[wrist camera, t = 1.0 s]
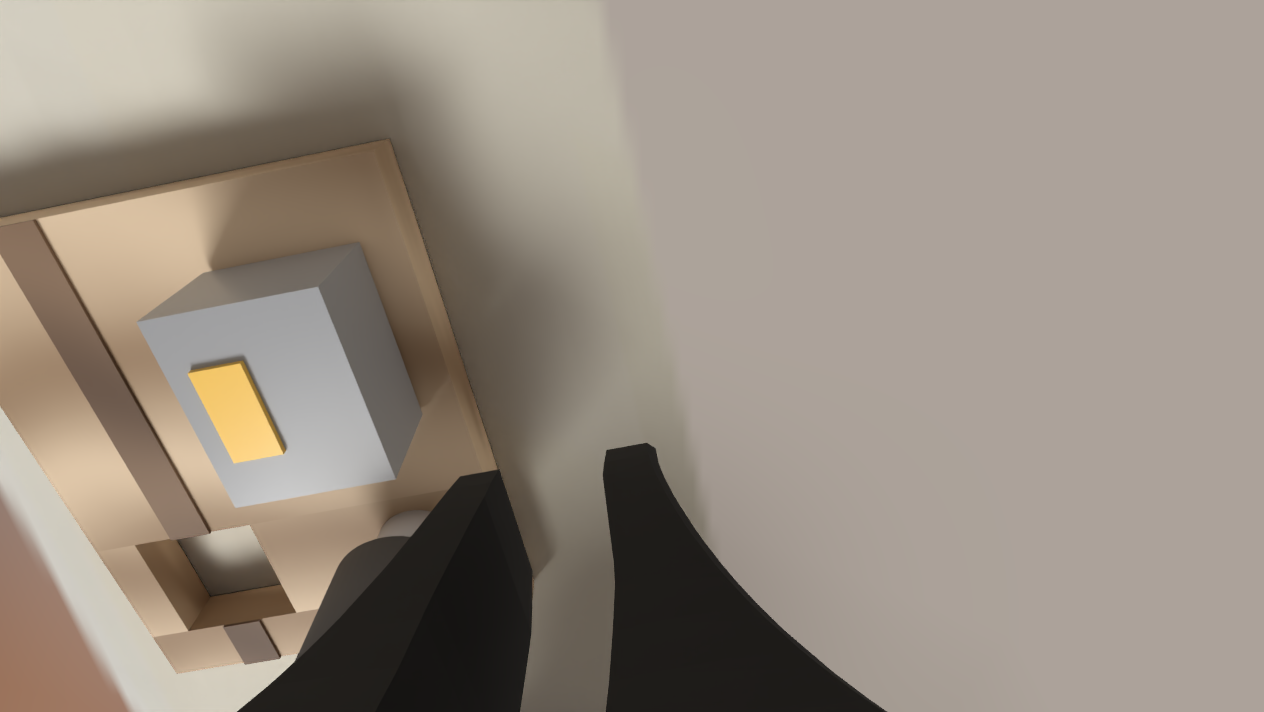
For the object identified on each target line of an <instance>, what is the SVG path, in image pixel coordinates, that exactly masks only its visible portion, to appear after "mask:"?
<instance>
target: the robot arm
mask: <svg viewBox="0 0 1264 712" xmlns="http://www.w3.org/2000/svg"><path fill="white" fill-rule="evenodd" d="M603 480H604V488H605V496H606V504H607V512H608V520H609V528H610V535H611V543H612V551H613V558H614V572H615V598H614V620H613V638H612V651H611V665H610V678H609V688H608V697H607V706H606V712H887V711H885V710H884V709H882V708H881V707H879V706H878V705H877V704H875V703H874V702H872V701H871V700H869V699H868V698H867V697H865V696H864V695H863V694H861V693H860V692H859V691H857V690H856V689H855V688H853V687H852V686H851V685H849V684H848V683H847V682H845V681H844V680H843V679H841V678H840V677H839V676H837V675H836V674H835V673H834V672H832V671H831V670H830V669H829V668H827V667H826V666H825V665H824V664H823V663H822V662H821V661H819V660H818V659H817V658H816V657H815V656H814V655H812V654H811V653H810V652H809V651H808V650H806V649H805V648H804V647H803V646H802V645H801V644H800V643H798V642H797V641H796V640H795V639H794V638H793V637H791V636H790V635H789V634H788V633H787V632H786V631H784V630H783V629H782V628H781V627H780V626H779V625H778V624H777V623H776V622H775V621H774V620H773V619H772V618H771V617H770V616H769V615H768V614H767V613H766V612H765V611H764V610H763V609H762V608H761V607H760V606H759V605H758V604H757V603H756V602H755V601H754V600H753V599H752V598H751V597H750V596H749V595H748V594H747V593H746V591H745V590H744V589H743V588H742V587H741V586H740V585H739V584H738V583H737V582H736V581H735V580H734V578H733V577H732V576H731V575H730V574H729V572H728V571H727V570H726V569H725V568H724V566H723V565H722V564H721V563H720V562H719V560H718V559H717V558H716V556H715V555H714V554H713V553H712V551H711V550H710V549H709V547H708V546H707V545H706V544H705V542H704V541H703V539H702V538H701V537H700V535H699V534H698V532H697V531H696V530H695V528H694V527H693V525H692V524H691V522H690V521H689V519H688V517H687V516H686V514H685V513H684V511H683V510H682V508H681V507H680V505H679V504H678V502H677V500H676V498H675V497H674V495H673V493H672V491H671V489H670V488H669V486H668V484H667V482H666V480H665V478H664V475H663V473H662V471H661V469H660V466H659V463H658V459H657V454H656V449H655V448H654V447H652V446H651V445H649V444H648V443H644V444H638V445H632V446H627V447H621V448H616V449H610V450H607V451H606V456H605V462H604V471H603ZM531 624H532V569H531V566H530V563H529V560H528V557H527V553H526V550H525V547H524V544H523V541H522V538H521V535H520V532H519V529H518V526H517V523H516V520H515V517H514V514H513V511H512V507H511V504H510V501H509V498H508V495H507V492H506V489H505V486H504V483H503V480H502V477H501V474H500V471H499V469H498V470H492V471H487V472H481V473H476V474H470V475H464V476H460V477H459V478H458V479H457V480H456V482H455V483H454V484H453V485H452V486H451V487H450V489H449V490H448V491H447V492H446V493H445V495H444V496H443V497H442V498H441V500H440V501H439V502H438V503H437V505H436V506H435V507H434V509H433V510H432V511H431V512H430V514H429V515H428V516H427V517H426V519H425V520H424V521H423V522H422V524H421V525H420V526H419V527H418V529H417V530H416V531H415V532H414V533H413V535H412V536H411V537H410V538H409V539H408V541H407V542H406V543H405V544H404V546H403V547H402V548H401V549H400V550H399V552H398V553H397V554H396V555H395V556H394V558H393V559H392V560H391V561H390V563H389V564H388V565H387V566H386V567H385V568H384V570H383V571H382V572H381V573H380V574H379V575H378V576H377V577H376V578H375V579H374V581H373V582H372V583H371V584H370V585H369V586H368V587H367V588H366V589H365V591H364V592H363V593H362V594H361V595H360V596H359V597H358V598H357V599H356V600H355V602H354V603H353V604H352V605H351V606H350V607H349V608H348V609H347V610H346V612H345V613H344V614H343V615H342V616H341V617H340V618H339V619H338V620H337V621H336V622H335V623H334V624H333V625H332V626H331V627H330V628H329V629H328V630H327V631H326V632H325V633H324V634H323V635H322V636H321V637H320V638H319V639H318V640H317V641H316V642H315V643H314V644H313V645H312V646H311V647H310V648H309V649H308V650H307V651H306V652H305V653H304V654H303V655H302V656H300V657H299V658H298V659H297V660H296V661H295V662H294V663H293V664H292V665H291V666H290V667H289V668H288V669H287V670H285V671H284V672H283V673H282V674H281V675H280V676H279V677H278V678H277V679H276V680H274V681H273V682H272V683H271V684H270V685H269V686H268V687H266V688H265V689H264V690H263V691H262V692H260V693H259V694H258V695H257V696H256V697H254V698H253V699H252V700H251V701H249V702H248V703H247V704H246V705H245V706H243V707H242V708H241V709H240V710H239V711H237V712H520V707H521V700H522V694H523V687H524V681H525V674H526V667H527V660H528V653H529V646H530V638H531Z"/></svg>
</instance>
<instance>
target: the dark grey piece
mask: <svg viewBox="0 0 1264 712" xmlns="http://www.w3.org/2000/svg"><path fill="white" fill-rule="evenodd" d="M430 512H431V511H425V510H411V511H406V512H402V513H399V514H397V515H395V516H393V517H392V518H390V519H389V520H388V521H387V522H386V523H385V524H384V525H383V527H382V528H381V530H380V533H379V535H378V538H377V539H374V540H371V541H368V542H365V543H363V544H361V545H359V546H357V547H356V548H355V549H353V550H352V551H350V552H349V553H348V554H347V555H346V556H345V557H344V558H343V560H342V561H341V562H340V564H339V566H338V567H337V569H336V572H335V574H334V576H333V578H332V580H331V583H330V585H329V587H328V589H327V591H326V594H325V596H324V598H323V600H322V603H321V605H320V607H319V609H318V611H317V614H316V616H315V618H314V620H313V622H312V625H311V627H310V629H309V631H308V634H307V636H306V638H305V640H304V642H303V645H302V647H301V649H300V651H299V653H298V656H297V658H296V660H297V659H298V658H299V657H300V656H302V655H303V654H304V653H305V652H306V651H307V650H308V649H309V648H310V647H311V646H312V645H313V644H314V643H315V642H316V641H317V640H318V639H319V638H320V637H321V636H322V635H323V634H324V633H325V632H326V631H327V630H328V629H329V628H330V627H331V626H332V625H333V624H334V623H335V622H336V621H337V620H338V619H339V618H340V617H341V616H342V615H343V614H344V613H345V612H346V610H347V609H348V608H349V607H350V606H351V605H352V604H353V603H354V602H355V600H356V599H357V598H358V597H359V596H360V595H361V594H362V593H363V592H364V591H365V589H366V588H367V587H368V586H369V585H370V584H371V583H372V582H373V581H374V579H375V578H376V577H377V576H378V575H379V574H380V573H381V572H382V571H383V570H384V568H385V567H386V566H387V565H388V564H389V563H390V561H391V560H392V559H393V558H394V556H395V555H396V554H397V553H398V552H399V550H400V549H401V548H402V547H403V546H404V544H405V543H406V542H407V541H408V539H409V538H410V537H411V536H412V535H413V533H414V532H415V531H416V530H417V529H418V527H419V526H420V525H421V524H422V522H423V521H424V520H425V519H426V517H427V516H428V515H429V514H430ZM296 660H295V661H296Z"/></svg>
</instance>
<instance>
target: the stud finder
mask: <svg viewBox="0 0 1264 712" xmlns="http://www.w3.org/2000/svg"><path fill="white" fill-rule="evenodd" d="M136 323H137V325H138V326H139V328H140V330H141V332H142V334H143V336H144V338H145V340H146V341H147V343H148V345H149V347H150V349H151V351H152V353H153V355H154V356H155V358H156V360H157V362H158V364H159V366H160V368H161V370H162V371H163V373H164V375H165V377H166V379H167V381H168V383H169V385H170V386H171V388H172V390H173V392H174V394H175V396H176V398H177V400H178V401H179V403H180V405H181V407H182V409H183V411H184V413H185V414H186V416H187V418H188V420H189V422H190V424H191V426H192V428H193V429H194V431H195V433H196V435H197V437H198V439H199V441H200V443H201V444H202V446H203V448H204V450H205V452H206V454H207V456H208V458H209V459H210V461H211V463H212V465H213V467H214V469H215V471H216V473H217V474H218V476H219V478H220V480H221V482H222V484H223V486H224V488H225V489H226V491H227V493H228V495H229V497H230V499H231V501H232V503H233V504H234V506H235V508H239V507H244V506H250V505H255V504H261V503H267V502H272V501H278V500H283V499H289V498H294V497H300V496H306V495H311V494H317V493H322V492H328V491H334V490H339V489H345V488H350V487H356V486H361V485H367V484H373V483H378V482H384V481H389V480H395V479H396V478H397V475H398V473H399V471H400V468H401V466H402V463H403V461H404V458H405V456H406V454H407V451H408V449H409V446H410V444H411V441H412V439H413V437H414V434H415V432H416V429H417V427H418V424H419V422H420V420H421V417H422V415H423V414H422V411H421V408H420V406H419V403H418V400H417V398H416V395H415V392H414V389H413V387H412V384H411V381H410V378H409V376H408V373H407V370H406V368H405V365H404V362H403V359H402V357H401V354H400V351H399V348H398V346H397V343H396V340H395V338H394V335H393V332H392V329H391V327H390V324H389V321H388V319H387V316H386V313H385V310H384V308H383V305H382V302H381V299H380V297H379V294H378V291H377V289H376V286H375V283H374V280H373V278H372V275H371V272H370V269H369V267H368V264H367V261H366V259H365V256H364V253H363V250H362V248H361V245H360V242H357V243H352V244H347V245H342V246H336V247H331V248H326V249H321V250H316V251H311V252H306V253H301V254H296V255H291V256H286V257H280V258H275V259H270V260H265V261H260V262H255V263H250V264H245V265H240V266H235V267H230V268H225V269H219V270H214V271H209V272H204V273H202V274H201V275H199V276H198V277H197V278H195V279H194V280H193V281H191V282H190V283H189V284H187V285H186V286H184V287H183V288H182V289H180V290H179V291H178V292H176V293H175V294H174V295H172V296H171V297H170V298H168V299H167V300H165V301H164V302H163V303H161V304H160V305H159V306H157V307H156V308H155V309H153V310H152V311H150V312H149V313H148V314H146V315H145V316H144V317H142V318H141V319H140V320H138V321H137V322H136Z"/></svg>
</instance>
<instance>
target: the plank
mask: <svg viewBox="0 0 1264 712" xmlns="http://www.w3.org/2000/svg"><path fill="white" fill-rule="evenodd" d="M357 242H360V245H361V248H362V250H363V253H364V256H365V259H366V261H367V264H368V267H369V269H370V272H371V275H372V278H373V280H374V283H375V286H376V289H377V291H378V294H379V297H380V299H381V302H382V305H383V308H384V310H385V313H386V316H387V319H388V321H389V324H390V327H391V329H392V332H393V335H394V338H395V340H396V343H397V346H398V348H399V351H400V354H401V357H402V359H403V362H404V365H405V368H406V370H407V373H408V376H409V378H410V381H411V384H412V387H413V389H414V392H415V395H416V398H417V400H418V403H419V406H420V408H421V411H422V414H423V415H422V417H421V420H420V422H419V424H418V427H417V429H416V432H415V434H414V437H413V439H412V441H411V444H410V446H409V449H408V451H407V454H406V456H405V458H404V461H403V463H402V466H401V468H400V471H399V473H398V475H397V478H396V479H395V480H389V481H384V482H378V483H373V484H367V485H361V486H356V487H350V488H345V489H339V490H334V491H328V492H322V493H317V494H311V495H306V496H300V497H294V498H289V499H283V500H278V501H272V502H267V503H261V504H255V505H250V506H244V507H239V508H235V506H234V504H233V503H232V501H231V499H230V497H229V495H228V493H227V491H226V489H225V488H224V486H223V484H222V482H221V480H220V478H219V476H218V474H217V473H216V471H215V469H214V467H213V465H212V463H211V461H210V459H209V458H208V456H207V454H206V452H205V450H204V448H203V446H202V444H201V443H200V441H199V439H198V437H197V435H196V433H195V431H194V429H193V428H192V426H191V424H190V422H189V420H188V418H187V416H186V414H185V413H184V411H183V409H182V407H181V405H180V403H179V401H178V400H177V398H176V396H175V394H174V392H173V390H172V388H171V386H170V385H169V383H168V381H167V379H166V377H165V375H164V373H163V371H162V370H161V368H160V366H159V364H158V362H157V360H156V358H155V356H154V355H153V353H152V351H151V349H150V347H149V345H148V343H147V341H146V340H145V338H144V336H143V334H142V332H141V330H140V328H139V326H138V325H137V323H136V322H137V321H138V320H140V319H141V318H142V317H144V316H145V315H146V314H148V313H149V312H150V311H152V310H153V309H155V308H156V307H157V306H159V305H160V304H161V303H163V302H164V301H165V300H167V299H168V298H170V297H171V296H172V295H174V294H175V293H176V292H178V291H179V290H180V289H182V288H183V287H184V286H186V285H187V284H189V283H190V282H191V281H193V280H194V279H195V278H197V277H198V276H199V275H201V274H202V273H204V272H209V271H214V270H219V269H225V268H230V267H235V266H240V265H245V264H250V263H255V262H260V261H265V260H270V259H275V258H280V257H286V256H291V255H296V254H301V253H306V252H311V251H316V250H321V249H326V248H331V247H336V246H342V245H347V244H352V243H357ZM0 406H1V408H2V409H3V411H4V412H5V414H6V415H7V417H8V418H9V420H10V421H11V423H12V425H13V426H14V428H15V429H16V431H17V432H18V434H19V435H20V437H21V438H22V440H23V441H24V443H25V444H26V446H27V447H28V449H29V450H30V452H31V453H32V455H33V456H34V458H35V459H36V461H37V462H38V464H39V465H40V467H41V468H42V470H43V471H44V473H45V475H46V476H47V478H48V479H49V481H50V482H51V484H52V485H53V487H54V488H55V490H56V491H57V493H58V494H59V496H60V497H61V499H62V500H63V502H64V503H65V505H66V506H67V508H68V509H69V511H70V512H71V514H72V515H73V517H74V518H75V520H76V521H77V523H78V525H79V526H80V528H81V529H82V531H83V532H84V534H85V535H86V537H87V538H88V540H89V541H90V543H91V544H92V546H93V547H94V549H95V550H96V552H97V553H98V555H99V556H100V558H101V559H102V561H103V562H104V564H105V565H106V567H107V568H108V570H109V571H110V573H111V575H112V576H113V578H114V579H115V581H116V582H117V584H118V585H119V587H120V588H121V590H122V591H123V593H124V594H125V596H126V597H127V599H128V600H129V602H130V603H131V605H132V606H133V608H134V609H135V611H136V612H137V614H138V615H139V617H140V618H141V620H142V622H143V623H144V625H145V626H146V628H147V629H148V631H149V632H150V634H151V635H152V637H153V638H154V640H155V641H156V643H157V644H158V646H159V647H160V649H161V650H162V652H163V653H164V655H165V656H166V658H167V659H168V661H169V662H170V664H171V665H172V667H173V668H174V670H175V672H176V673H177V674H178V673H184V672H190V671H196V670H202V669H208V668H214V667H220V666H226V665H232V664H238V663H244V664H251V663H257V662H263V661H269V660H275V659H280V658H281V656H285V655H291V654H297V653H299V651H300V649H301V647H302V645H303V642H304V640H305V638H306V636H307V634H308V631H309V629H310V627H311V625H312V622H313V620H314V618H315V616H316V614H317V611H318V609H319V607H320V605H321V603H322V600H323V598H324V596H325V594H326V591H327V589H328V587H329V585H330V583H331V580H332V578H333V576H334V574H335V572H336V569H337V567H338V566H339V564H340V562H341V561H342V560H343V558H344V557H345V556H346V555H347V554H348V553H349V552H350V551H352V550H353V549H355V548H356V547H357V546H359V545H361V544H363V543H365V542H368V541H371V540H374V539H377V538H378V535H379V533H380V530H381V528H382V527H383V525H384V524H385V523H386V522H387V521H388V520H389V519H390V518H392V517H393V516H395V515H397V514H399V513H402V512H406V511H411V510H425V511H432V510H433V509H434V507H435V506H436V505H437V503H438V502H439V501H440V500H441V498H442V497H443V496H444V495H445V493H446V492H447V491H448V490H449V489H450V487H451V486H452V485H453V484H454V483H455V482H456V480H457V479H458V478H459V477H460V476H464V475H470V474H476V473H481V472H487V471H492V470H498V469H497V465H496V462H495V459H494V456H493V453H492V450H491V447H490V444H489V441H488V438H487V435H486V432H485V429H484V426H483V423H482V420H481V417H480V413H479V410H478V407H477V404H476V401H475V398H474V395H473V392H472V389H471V386H470V383H469V380H468V377H467V374H466V371H465V368H464V365H463V362H462V358H461V355H460V352H459V349H458V346H457V343H456V340H455V337H454V334H453V331H452V328H451V325H450V322H449V319H448V316H447V313H446V310H445V306H444V303H443V300H442V297H441V294H440V291H439V288H438V285H437V282H436V279H435V276H434V273H433V270H432V267H431V264H430V261H429V258H428V254H427V251H426V248H425V245H424V242H423V239H422V236H421V233H420V230H419V227H418V224H417V221H416V218H415V215H414V212H413V209H412V206H411V203H410V199H409V196H408V193H407V190H406V187H405V184H404V181H403V178H402V175H401V172H400V169H399V166H398V163H397V160H396V157H395V154H394V151H393V147H392V144H391V141H390V139H385V140H380V141H375V142H370V143H365V144H360V145H355V146H350V147H346V148H341V149H336V150H331V151H326V152H321V153H316V154H311V155H306V156H301V157H296V158H291V159H287V160H282V161H277V162H272V163H267V164H262V165H257V166H252V167H247V168H242V169H237V170H232V171H228V172H223V173H218V174H213V175H208V176H203V177H198V178H193V179H188V180H183V181H178V182H173V183H169V184H164V185H159V186H154V187H149V188H144V189H139V190H134V191H129V192H124V193H119V194H114V195H110V196H105V197H100V198H95V199H90V200H85V201H80V202H75V203H70V204H65V205H60V206H55V207H51V208H46V209H41V210H36V211H31V212H26V213H21V214H16V215H11V216H6V217H1V218H0ZM245 525H250V526H251V528H252V530H253V532H254V534H255V536H256V537H257V539H258V541H259V543H260V545H261V547H262V549H263V551H264V553H265V554H266V556H267V558H268V560H269V562H270V564H271V566H272V568H273V570H274V571H275V573H276V575H277V577H278V579H279V581H280V583H281V585H276V586H270V587H264V588H258V589H253V590H247V591H241V592H235V593H230V594H224V595H218V596H212V597H210V596H209V594H208V592H207V590H206V589H205V587H204V585H203V584H202V582H201V580H200V579H199V577H198V575H197V574H196V572H195V570H194V568H193V567H192V565H191V563H190V562H189V560H188V558H187V557H186V555H185V553H184V552H183V550H182V548H181V547H180V545H179V543H178V541H177V539H183V538H189V537H194V536H200V535H206V534H210V533H211V532H212V531H217V530H223V529H228V528H234V527H240V526H245ZM533 588H534V579H533V576H532V597H533Z"/></svg>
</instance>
